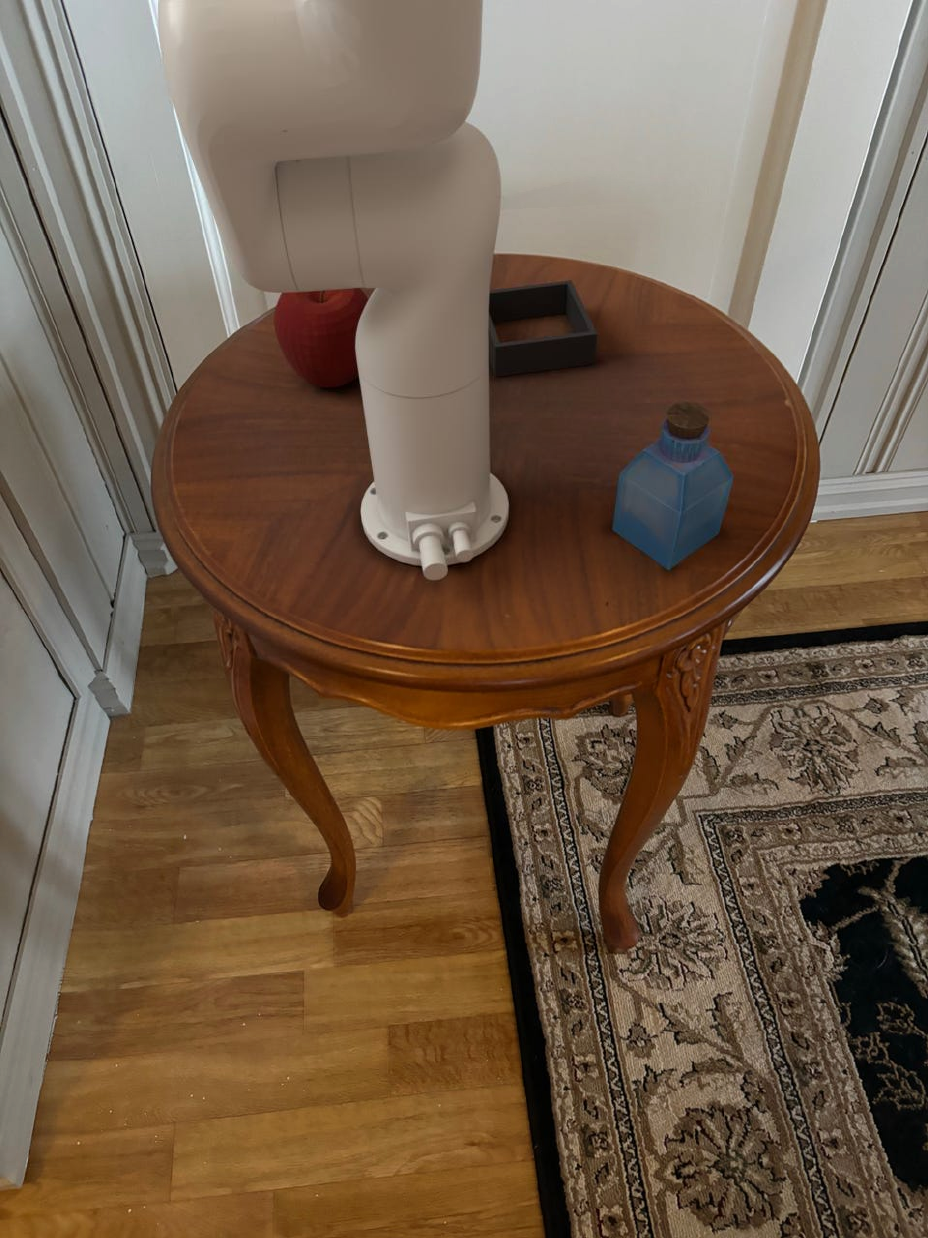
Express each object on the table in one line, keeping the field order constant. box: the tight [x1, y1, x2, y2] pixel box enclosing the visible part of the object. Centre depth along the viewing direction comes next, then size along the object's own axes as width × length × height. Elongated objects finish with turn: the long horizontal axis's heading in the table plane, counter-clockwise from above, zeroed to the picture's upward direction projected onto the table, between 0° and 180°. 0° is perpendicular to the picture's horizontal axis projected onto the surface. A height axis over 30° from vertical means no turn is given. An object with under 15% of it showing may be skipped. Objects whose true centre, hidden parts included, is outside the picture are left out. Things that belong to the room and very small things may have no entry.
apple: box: [273, 288, 369, 389], centre depth 86 cm, size 10×10×10 cm
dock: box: [488, 279, 598, 378], centre depth 91 cm, size 10×10×4 cm
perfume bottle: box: [611, 401, 735, 571], centre depth 69 cm, size 6×6×12 cm
